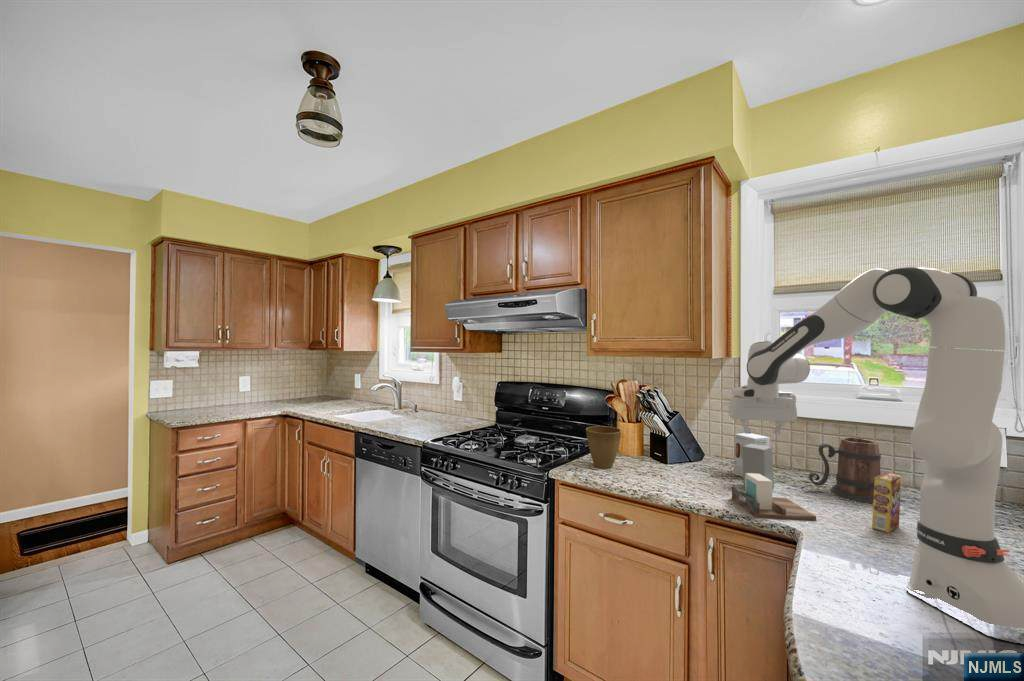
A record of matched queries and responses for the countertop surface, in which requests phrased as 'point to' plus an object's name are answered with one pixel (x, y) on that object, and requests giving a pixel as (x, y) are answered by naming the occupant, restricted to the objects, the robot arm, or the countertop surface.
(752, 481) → the cream carton
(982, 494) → the robot arm
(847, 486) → the tankard
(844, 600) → the countertop surface
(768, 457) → the skincare box
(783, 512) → the shelf board
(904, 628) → the countertop surface
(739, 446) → the supplement box
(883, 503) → the candy box
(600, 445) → the plant pot
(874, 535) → the countertop surface
